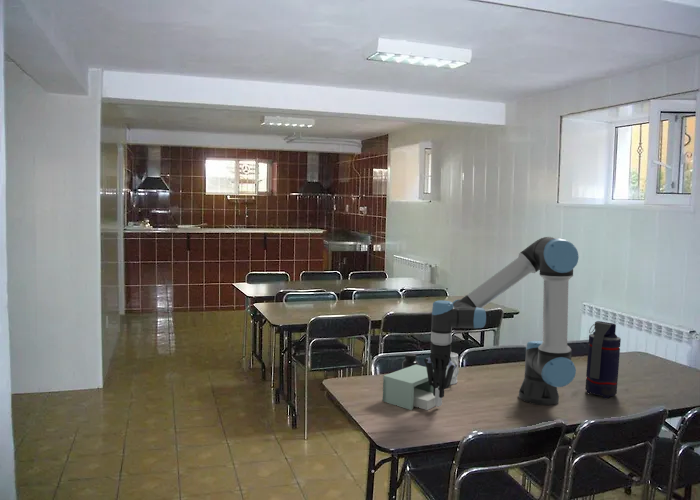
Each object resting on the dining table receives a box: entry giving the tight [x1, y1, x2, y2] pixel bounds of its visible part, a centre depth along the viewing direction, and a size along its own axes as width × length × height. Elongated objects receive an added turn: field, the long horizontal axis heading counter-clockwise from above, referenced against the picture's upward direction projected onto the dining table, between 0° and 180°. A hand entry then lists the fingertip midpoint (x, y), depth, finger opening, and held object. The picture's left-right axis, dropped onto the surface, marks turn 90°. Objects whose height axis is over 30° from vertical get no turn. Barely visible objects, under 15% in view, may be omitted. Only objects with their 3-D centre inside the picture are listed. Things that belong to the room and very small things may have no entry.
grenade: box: [584, 320, 622, 399], centre depth 239 cm, size 14×12×30 cm
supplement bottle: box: [401, 352, 419, 369], centre depth 247 cm, size 7×7×12 cm
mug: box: [446, 351, 460, 385], centre depth 248 cm, size 12×8×12 cm
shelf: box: [381, 364, 439, 411], centre depth 227 cm, size 14×22×10 cm, turn 140°
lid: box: [413, 388, 436, 411], centre depth 223 cm, size 14×9×4 cm, turn 50°
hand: (438, 405), depth 217 cm, fingers closed
